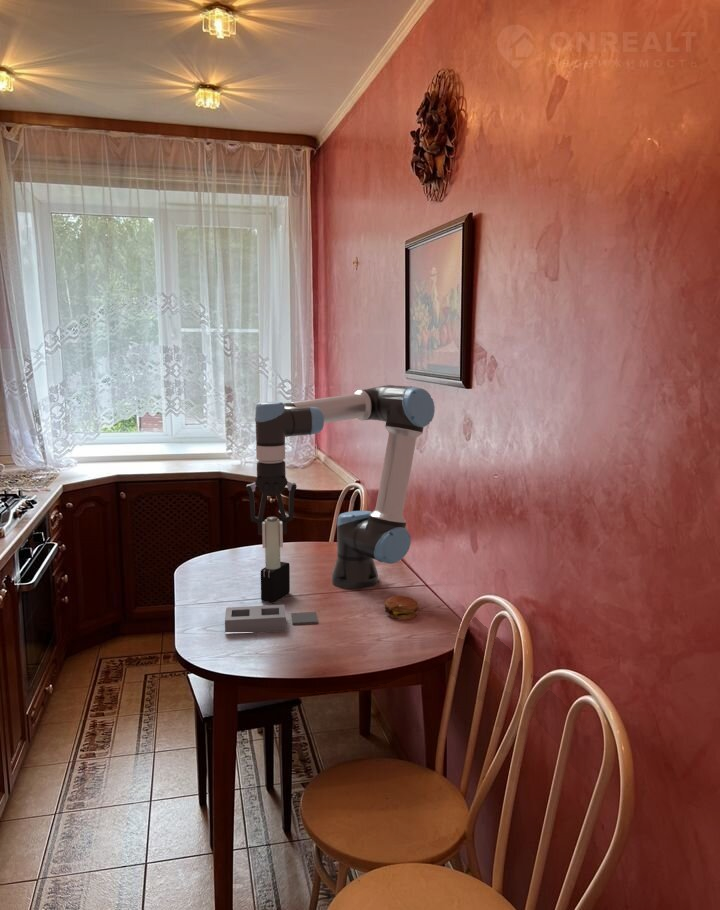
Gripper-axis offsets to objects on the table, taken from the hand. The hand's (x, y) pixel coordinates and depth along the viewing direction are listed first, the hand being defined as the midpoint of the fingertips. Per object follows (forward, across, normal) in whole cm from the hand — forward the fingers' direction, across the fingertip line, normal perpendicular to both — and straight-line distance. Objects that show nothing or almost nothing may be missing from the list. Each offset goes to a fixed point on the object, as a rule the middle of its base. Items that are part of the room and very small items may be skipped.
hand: (272, 546), depth 182 cm
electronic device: (+23, -1, -21) cm, 31 cm away
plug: (+6, 0, 0) cm, 6 cm away
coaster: (+22, -8, -3) cm, 24 cm away
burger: (+23, -36, -3) cm, 43 cm away
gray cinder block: (+22, +5, 0) cm, 23 cm away
